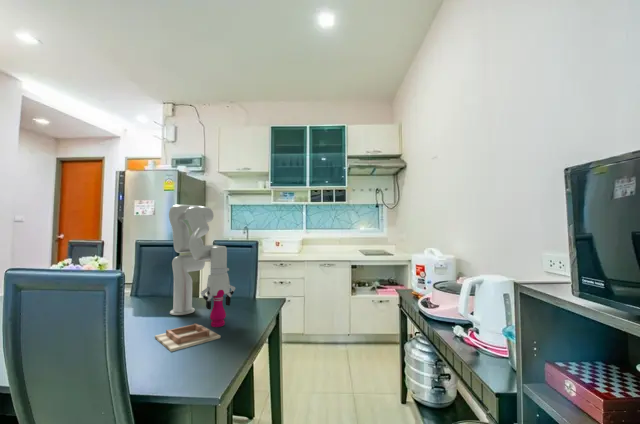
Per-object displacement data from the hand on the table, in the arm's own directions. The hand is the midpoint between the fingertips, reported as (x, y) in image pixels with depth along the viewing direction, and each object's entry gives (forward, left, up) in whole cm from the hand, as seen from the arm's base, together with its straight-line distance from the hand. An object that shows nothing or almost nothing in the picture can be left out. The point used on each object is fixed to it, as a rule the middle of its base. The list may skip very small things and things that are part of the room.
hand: (218, 307), depth 147 cm
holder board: (+7, -17, -9) cm, 20 cm away
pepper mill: (0, 0, -9) cm, 9 cm away
